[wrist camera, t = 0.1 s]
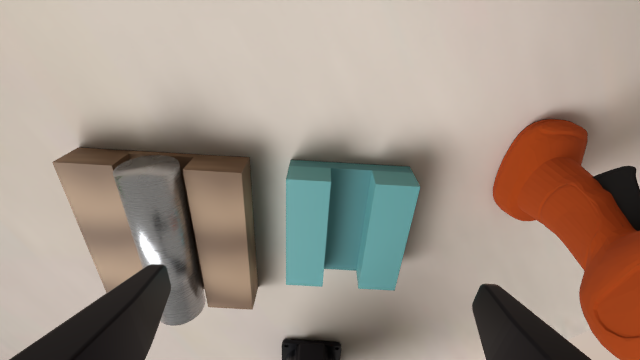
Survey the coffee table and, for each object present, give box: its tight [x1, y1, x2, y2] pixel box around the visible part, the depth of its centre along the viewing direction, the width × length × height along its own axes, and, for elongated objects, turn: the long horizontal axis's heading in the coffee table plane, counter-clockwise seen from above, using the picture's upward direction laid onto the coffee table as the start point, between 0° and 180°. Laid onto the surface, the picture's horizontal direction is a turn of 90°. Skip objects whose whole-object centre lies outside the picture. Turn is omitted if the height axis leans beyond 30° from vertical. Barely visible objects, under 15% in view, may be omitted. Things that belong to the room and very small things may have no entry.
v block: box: [286, 160, 420, 290], centre depth 24 cm, size 10×9×3 cm
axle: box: [113, 155, 205, 325], centre depth 24 cm, size 14×4×4 cm, turn 177°
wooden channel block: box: [52, 148, 258, 309], centre depth 25 cm, size 14×13×2 cm
